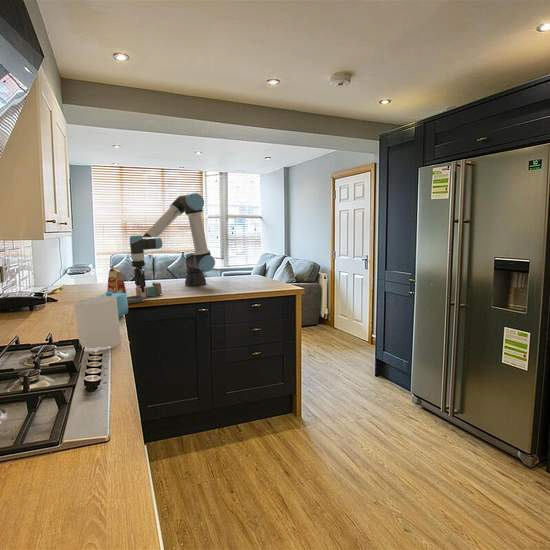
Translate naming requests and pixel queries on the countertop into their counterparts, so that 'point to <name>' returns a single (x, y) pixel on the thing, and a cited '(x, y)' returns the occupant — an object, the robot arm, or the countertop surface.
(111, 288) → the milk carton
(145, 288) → the stub
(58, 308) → the countertop surface
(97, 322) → the container
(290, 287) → the countertop surface
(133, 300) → the tray
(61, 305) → the countertop surface
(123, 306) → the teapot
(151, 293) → the teal brown block
